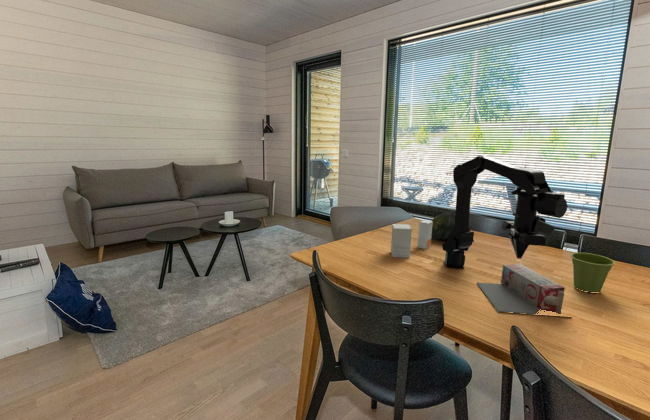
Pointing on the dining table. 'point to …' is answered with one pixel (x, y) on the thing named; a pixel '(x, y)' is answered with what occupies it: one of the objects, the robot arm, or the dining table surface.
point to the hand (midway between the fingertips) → (518, 258)
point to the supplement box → (401, 240)
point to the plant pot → (590, 271)
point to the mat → (507, 299)
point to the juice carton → (533, 287)
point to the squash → (443, 225)
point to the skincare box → (424, 234)
